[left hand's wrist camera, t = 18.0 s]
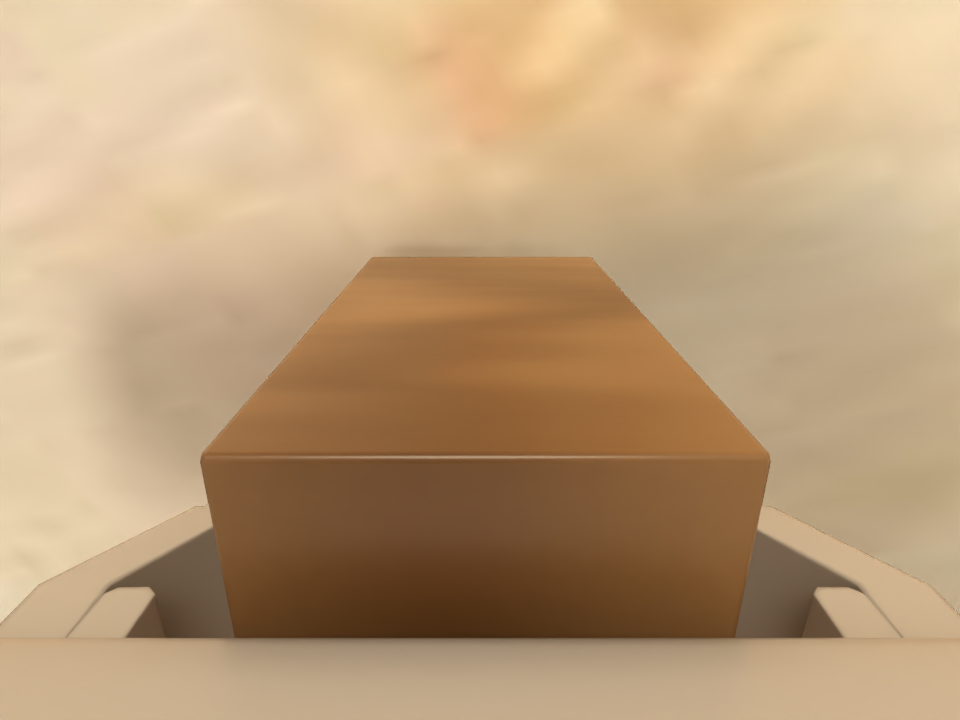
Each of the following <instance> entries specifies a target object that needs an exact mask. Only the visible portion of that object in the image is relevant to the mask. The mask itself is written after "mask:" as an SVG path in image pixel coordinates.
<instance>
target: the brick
mask: <svg viewBox="0 0 960 720" xmlns="http://www.w3.org/2000/svg"><path fill="white" fill-rule="evenodd" d="M200 463H201V468H202V473H203V478H204V483H205V488H206V494H207V499H208V504H209V509H210V514H211V519H212V524H213V529H214V534H215V539H216V545H217V550H218V555H219V560H220V565H221V570H222V575H223V580H224V585H225V590H226V595H227V601H228V606H229V611H230V616H231V621H232V626H233V631H234V636H235V638H735V634H736V629H737V624H738V619H739V615H740V610H741V605H742V600H743V595H744V590H745V585H746V580H747V575H748V570H749V565H750V561H751V556H752V551H753V546H754V541H755V536H756V531H757V526H758V521H759V516H760V511H761V507H762V502H763V497H764V492H765V487H766V482H767V477H768V472H769V467H770V456H769V453H768V452H767V451H766V450H765V449H764V447H763V446H762V445H761V444H760V443H759V442H758V441H757V440H756V439H755V438H754V436H753V435H752V434H751V433H750V432H749V431H748V430H747V429H746V428H745V427H744V425H743V424H742V423H741V422H740V421H739V420H738V419H737V418H736V417H735V415H734V414H733V413H732V412H731V411H730V410H729V409H728V408H727V407H726V406H725V404H724V403H723V402H722V401H721V400H720V399H719V398H718V397H717V396H716V395H715V393H714V392H713V391H712V390H711V389H710V388H709V387H708V386H707V385H706V383H705V382H704V381H703V380H702V379H701V378H700V377H699V376H698V375H697V374H696V372H695V371H694V370H693V369H692V368H691V367H690V366H689V365H688V364H687V363H686V361H685V360H684V359H683V358H682V357H681V356H680V355H679V354H678V353H677V352H676V350H675V349H674V348H673V347H672V346H671V345H670V344H669V343H668V342H667V340H666V339H665V338H664V337H663V336H662V335H661V334H660V333H659V332H658V331H657V329H656V328H655V327H654V326H653V325H652V324H651V323H650V322H649V321H648V320H647V318H646V317H645V316H644V315H643V314H642V313H641V312H640V311H639V310H638V309H637V307H636V306H635V305H634V304H633V303H632V302H631V301H630V300H629V299H628V297H627V296H626V295H625V294H624V293H623V292H622V291H621V290H620V289H619V288H618V286H617V285H616V284H615V283H614V282H613V281H612V280H611V279H610V278H609V277H608V275H607V274H606V273H605V272H604V271H603V270H602V269H601V268H600V267H599V265H598V264H597V263H596V262H595V261H594V260H593V259H592V258H590V257H373V258H371V259H370V260H369V262H368V263H367V264H366V265H365V266H364V267H363V268H362V270H361V271H360V272H359V273H358V274H357V275H356V277H355V278H354V279H353V280H352V281H351V282H350V283H349V285H348V286H347V287H346V288H345V289H344V290H343V292H342V293H341V294H340V295H339V296H338V297H337V298H336V300H335V301H334V302H333V303H332V304H331V305H330V307H329V308H328V309H327V310H326V311H325V312H324V314H323V315H322V316H321V317H320V318H319V319H318V320H317V322H316V323H315V324H314V325H313V326H312V327H311V329H310V330H309V331H308V332H307V333H306V334H305V335H304V337H303V338H302V339H301V340H300V341H299V342H298V344H297V345H296V346H295V347H294V348H293V349H292V350H291V352H290V353H289V354H288V355H287V356H286V357H285V359H284V360H283V361H282V362H281V363H280V364H279V365H278V367H277V368H276V369H275V370H274V371H273V372H272V374H271V375H270V376H269V377H268V378H267V379H266V381H265V382H264V383H263V384H262V385H261V386H260V387H259V389H258V390H257V391H256V392H255V393H254V394H253V396H252V397H251V398H250V399H249V400H248V401H247V402H246V404H245V405H244V406H243V407H242V408H241V409H240V411H239V412H238V413H237V414H236V415H235V416H234V417H233V419H232V420H231V421H230V422H229V423H228V424H227V426H226V427H225V428H224V429H223V430H222V431H221V433H220V434H219V435H218V436H217V437H216V438H215V439H214V441H213V442H212V443H211V444H210V445H209V446H208V448H207V449H206V450H205V451H204V452H203V453H202V456H201V462H200Z"/></svg>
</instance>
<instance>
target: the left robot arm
mask: <svg viewBox="0 0 960 720" xmlns="http://www.w3.org/2000/svg"><path fill="white" fill-rule="evenodd" d="M0 720H960V615H959V614H958V613H957V612H956V611H955V610H954V609H953V608H952V607H951V606H950V605H949V604H948V603H947V602H946V601H945V600H944V599H943V598H942V597H941V596H940V595H939V594H938V593H937V592H936V591H935V590H934V589H933V588H932V587H931V586H930V585H928V584H926V583H924V582H922V581H920V580H918V579H916V578H914V577H912V576H910V575H908V574H906V573H904V572H902V571H900V570H898V569H896V568H894V567H892V566H890V565H888V564H886V563H884V562H882V561H880V560H878V559H876V558H874V557H872V556H870V555H868V554H866V553H864V552H862V551H860V550H857V549H855V548H853V547H851V546H849V545H847V544H845V543H843V542H841V541H839V540H837V539H835V538H833V537H831V536H829V535H827V534H825V533H823V532H821V531H819V530H817V529H815V528H813V527H811V526H809V525H807V524H805V523H803V522H801V521H799V520H797V519H795V518H793V517H791V516H789V515H787V514H785V513H783V512H781V511H779V510H777V509H775V508H773V507H771V506H762V507H761V511H760V516H759V521H758V526H757V531H756V536H755V541H754V546H753V551H752V556H751V561H750V565H749V570H748V575H747V580H746V585H745V590H744V595H743V600H742V605H741V610H740V615H739V619H738V624H737V629H736V634H735V638H235V636H234V631H233V626H232V621H231V616H230V611H229V606H228V601H227V595H226V590H225V585H224V580H223V575H222V570H221V565H220V560H219V555H218V550H217V545H216V539H215V534H214V529H213V524H212V519H211V514H210V509H209V504H207V505H206V506H196V507H194V508H192V509H190V510H188V511H186V512H184V513H182V514H180V515H178V516H176V517H174V518H172V519H170V520H168V521H166V522H164V523H162V524H160V525H158V526H156V527H154V528H152V529H150V530H148V531H146V532H144V533H142V534H140V535H138V536H136V537H134V538H131V539H129V540H127V541H125V542H123V543H121V544H119V545H117V546H115V547H113V548H111V549H109V550H107V551H105V552H103V553H101V554H99V555H97V556H95V557H93V558H91V559H89V560H87V561H85V562H83V563H81V564H79V565H77V566H75V567H73V568H71V569H69V570H67V571H65V572H63V573H61V574H59V575H57V576H55V577H53V578H51V579H49V580H47V581H45V582H43V583H41V584H39V585H38V586H37V587H36V588H35V589H34V590H33V591H32V592H31V593H30V594H29V595H28V596H27V597H26V598H25V599H24V600H23V601H22V602H21V603H20V604H19V605H18V606H17V607H16V608H15V609H14V610H13V611H12V612H11V613H10V614H9V615H8V616H7V617H6V618H5V619H4V621H3V622H2V623H1V624H0Z"/></svg>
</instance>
